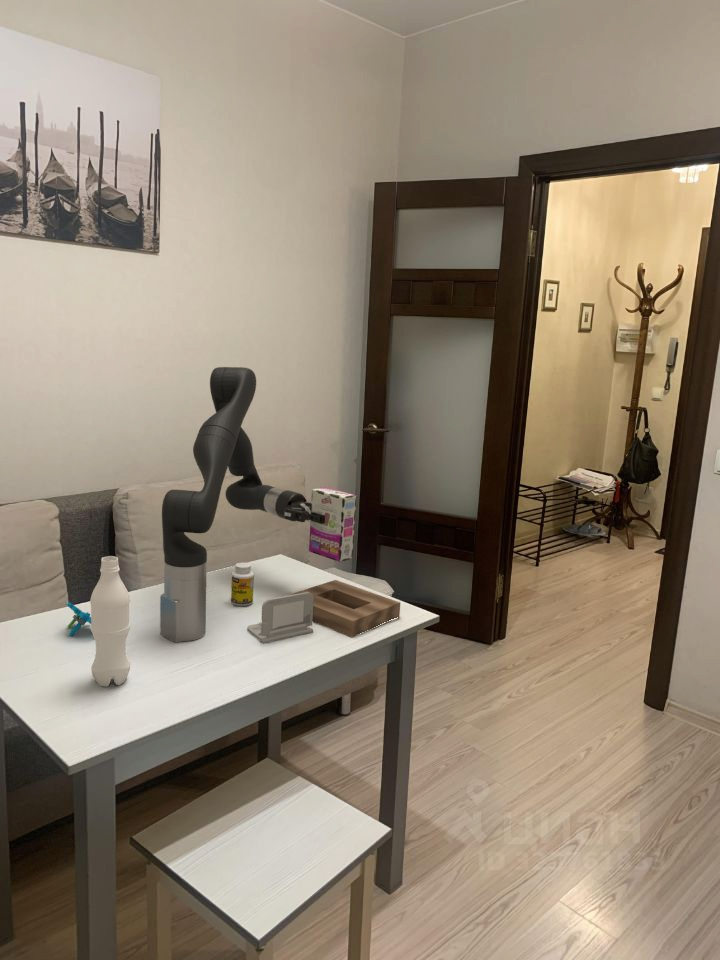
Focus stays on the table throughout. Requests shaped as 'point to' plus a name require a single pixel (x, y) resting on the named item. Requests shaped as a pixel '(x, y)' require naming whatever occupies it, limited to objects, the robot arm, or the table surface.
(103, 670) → the water bottle
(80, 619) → the blue green plastic toy
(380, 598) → the walnut holder block
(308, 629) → the handheld gaming console
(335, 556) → the candy bar box
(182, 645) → the table surface
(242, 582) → the supplement bottle
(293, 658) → the table surface
